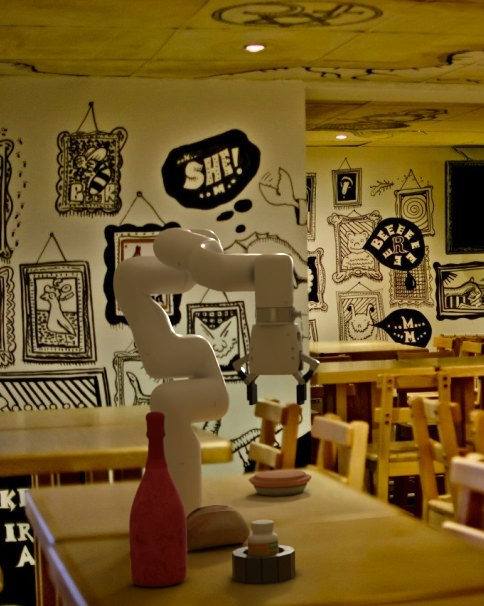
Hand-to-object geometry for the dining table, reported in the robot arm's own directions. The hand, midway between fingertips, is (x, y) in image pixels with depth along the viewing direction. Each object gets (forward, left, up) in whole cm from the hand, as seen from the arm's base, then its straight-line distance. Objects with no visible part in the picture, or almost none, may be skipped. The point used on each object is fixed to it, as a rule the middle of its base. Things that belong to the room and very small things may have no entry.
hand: (276, 404), depth 242 cm
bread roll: (-14, +1, -28) cm, 32 cm away
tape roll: (+4, -22, -28) cm, 36 cm away
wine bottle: (-13, -28, -28) cm, 42 cm away
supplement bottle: (+4, -22, -28) cm, 36 cm away
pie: (-20, +63, -28) cm, 72 cm away
